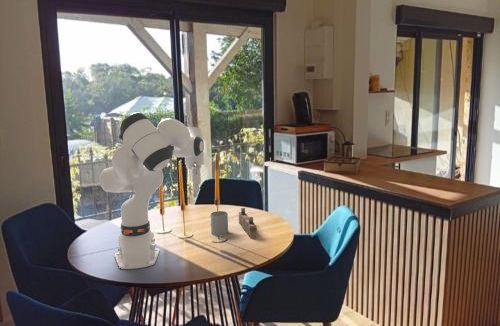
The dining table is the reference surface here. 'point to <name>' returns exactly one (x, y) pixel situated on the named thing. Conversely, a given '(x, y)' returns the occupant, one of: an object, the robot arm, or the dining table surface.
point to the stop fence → (247, 224)
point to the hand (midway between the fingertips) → (195, 189)
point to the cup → (219, 223)
